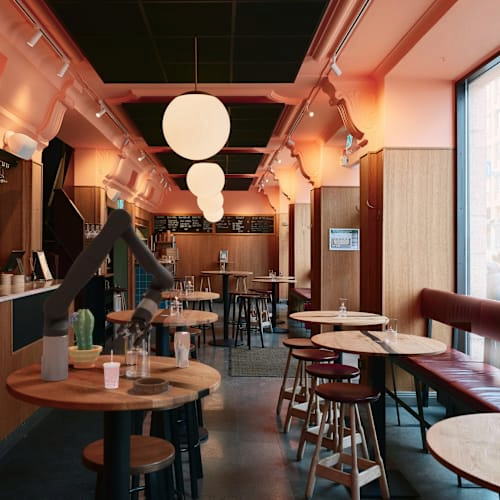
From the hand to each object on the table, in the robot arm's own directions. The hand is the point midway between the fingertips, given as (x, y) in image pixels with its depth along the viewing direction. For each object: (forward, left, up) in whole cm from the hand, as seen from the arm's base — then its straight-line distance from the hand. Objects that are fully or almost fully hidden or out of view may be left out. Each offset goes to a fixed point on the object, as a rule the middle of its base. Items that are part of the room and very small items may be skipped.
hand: (125, 345), depth 201 cm
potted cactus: (-24, +32, -15) cm, 43 cm away
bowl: (+11, -11, -14) cm, 21 cm away
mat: (+11, -11, -15) cm, 21 cm away
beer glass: (+19, +30, -15) cm, 39 cm away
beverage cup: (-4, -7, -15) cm, 17 cm away
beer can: (-4, +36, -15) cm, 39 cm away
